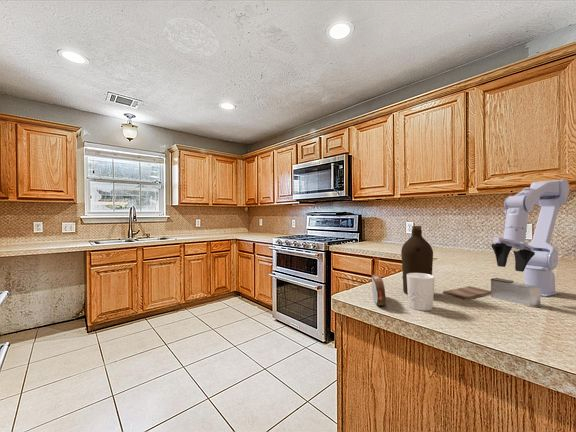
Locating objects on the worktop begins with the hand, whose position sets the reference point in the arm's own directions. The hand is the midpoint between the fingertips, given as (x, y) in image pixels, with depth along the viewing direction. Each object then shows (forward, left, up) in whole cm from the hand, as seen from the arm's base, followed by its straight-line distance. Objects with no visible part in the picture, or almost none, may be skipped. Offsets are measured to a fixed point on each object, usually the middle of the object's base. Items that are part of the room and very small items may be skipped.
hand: (510, 268), depth 89 cm
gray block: (-1, 0, -11) cm, 11 cm away
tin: (+40, -19, -11) cm, 46 cm away
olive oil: (+20, -20, -11) cm, 30 cm away
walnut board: (+4, -11, -11) cm, 16 cm away
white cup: (+32, -9, -11) cm, 35 cm away
